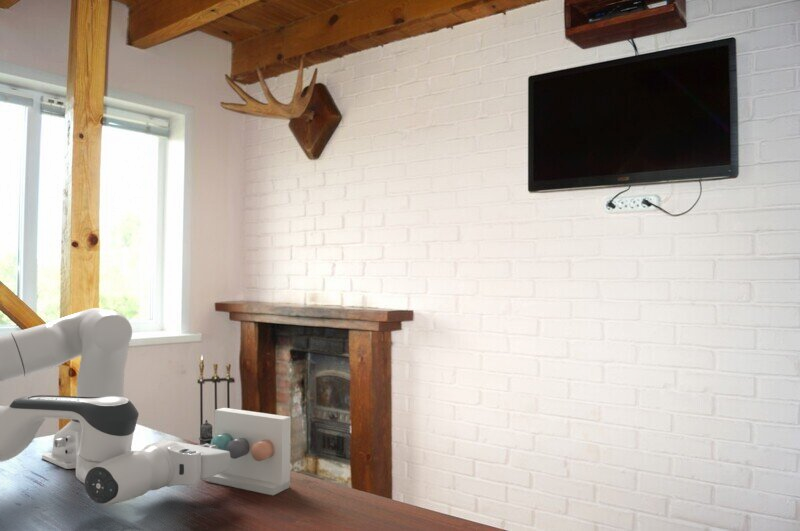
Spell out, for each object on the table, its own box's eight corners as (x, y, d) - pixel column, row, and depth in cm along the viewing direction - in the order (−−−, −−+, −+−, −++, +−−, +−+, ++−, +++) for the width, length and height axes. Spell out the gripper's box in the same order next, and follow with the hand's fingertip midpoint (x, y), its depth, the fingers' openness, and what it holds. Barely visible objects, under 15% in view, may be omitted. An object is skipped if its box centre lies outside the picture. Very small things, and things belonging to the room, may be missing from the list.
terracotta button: (251, 459, 140) (251, 441, 140) (259, 456, 143) (260, 438, 143) (265, 462, 138) (265, 444, 138) (273, 458, 141) (274, 441, 141)
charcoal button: (226, 457, 142) (227, 439, 142) (235, 454, 144) (236, 436, 144) (240, 459, 140) (240, 441, 140) (249, 456, 143) (249, 438, 143)
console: (204, 480, 147) (205, 412, 147) (222, 473, 152) (223, 407, 152) (273, 495, 137) (273, 422, 138) (289, 487, 143) (290, 416, 143)
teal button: (210, 452, 145) (210, 435, 146) (219, 449, 148) (220, 432, 148) (223, 454, 144) (224, 437, 144) (232, 451, 146) (233, 434, 146)
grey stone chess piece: (210, 472, 153) (211, 423, 153) (188, 470, 154) (189, 421, 154) (222, 465, 159) (223, 417, 159) (201, 463, 160) (201, 416, 160)
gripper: (130, 471, 135) (179, 455, 148) (200, 486, 126) (247, 468, 138) (130, 441, 136) (179, 428, 148) (201, 455, 126) (247, 439, 139)
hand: (212, 447), depth 143 cm, fingers closed
